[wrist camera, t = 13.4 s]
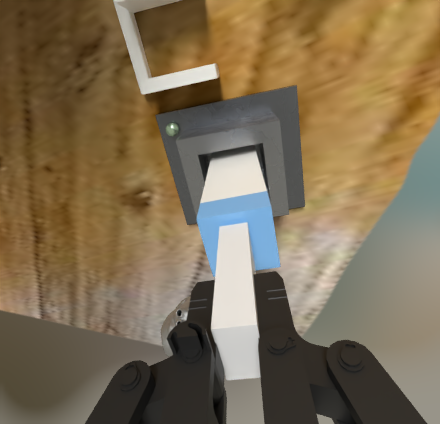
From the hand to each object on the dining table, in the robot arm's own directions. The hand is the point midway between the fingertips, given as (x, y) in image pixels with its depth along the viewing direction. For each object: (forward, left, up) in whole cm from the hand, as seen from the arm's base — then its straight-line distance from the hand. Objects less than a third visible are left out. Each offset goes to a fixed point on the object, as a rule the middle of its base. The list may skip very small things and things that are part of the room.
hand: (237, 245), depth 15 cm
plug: (0, 0, -14) cm, 14 cm away
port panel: (0, 0, -15) cm, 15 cm away
